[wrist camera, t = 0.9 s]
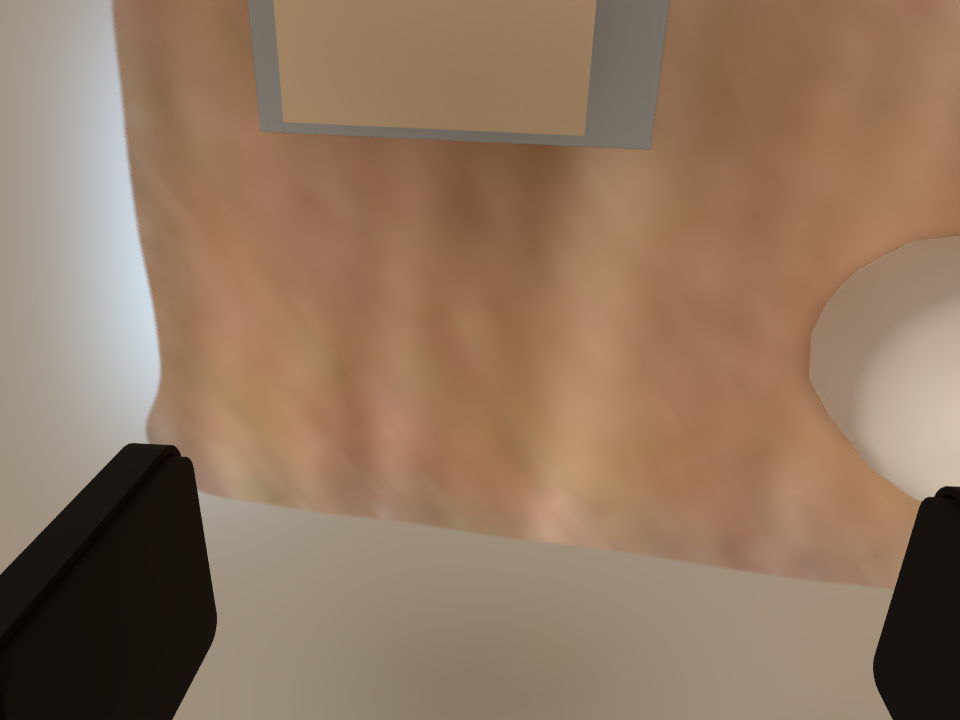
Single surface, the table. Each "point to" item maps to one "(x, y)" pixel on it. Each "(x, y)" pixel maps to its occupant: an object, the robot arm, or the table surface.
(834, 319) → the teardrop
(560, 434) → the table surface
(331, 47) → the carton
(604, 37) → the grey and cream slab
